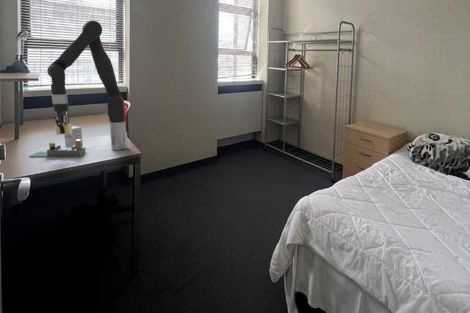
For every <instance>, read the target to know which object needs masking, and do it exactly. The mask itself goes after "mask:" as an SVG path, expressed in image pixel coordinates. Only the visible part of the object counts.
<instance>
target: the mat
mask: <svg viewBox="0 0 470 313" xmlns="http://www.w3.org/2000/svg"><path fill="white" fill-rule="evenodd" d="M29 158H49V157H48V156H47V151H36V152H35V153H33V154H31V155H30V156H29Z"/></svg>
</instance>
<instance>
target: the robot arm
mask: <svg viewBox="0 0 470 313" xmlns="http://www.w3.org/2000/svg"><path fill="white" fill-rule="evenodd" d="M81 30H82V31H81V33H80V34H79V36H78V37H77V38H76V39H75V40H74V41H73V42H72V43H71V44H69V45H68V47H66V49H65V50H64V51H63V52H61V55H59V56H58V57H57V59H55V61H53V62H52V63H50V65H49V66H48V68H47V75H48V76H49V77H50V79H51V83H50V84H51V85H50V90H51V100H52V101H51V102H52V106H53V107H52V108H53V112H56V116H54V120H55V124H56V125H57V127H60V133H61V134H60V135H64V133H65V130H64V124H70V113H69V112H68V111H69V110H70V108H69V102H68V101H69V100H68V96H67V95H68V94H67V90H66V73H65V71H66V70H67V68H69V67H71V66H72V65H73V64H74V63H75V62H76V61H77V59H78V58H79V57H80V56H81V55H82V53H83V52H84V51H85V50H86V49H87V47H88V48H89V51H90V53H91V57H92V61H93V63H94V66H95V69H96V73H97V75H98V77H99V79H100V81H101V83H102V84H103V87H104V89H105V92H106V95H107V102H106V105H107V113H108V115H107V116H108V122H109V133H110V144H111V150H113V151H122V150H121V149H125V150H127V149H128V148H127V147H129V142H128V132H127V128H126V127H127V126H126V115H125V101H124V98H123V95H122V93H121V91H120V89H119V86H118V83H117V79H116V78H117V77H116V73H115V71H114V70H115V69H114V67H113V64H112V62H111V58H110V56H109V55H108V53H107V52H106V50H105V49H104V47H103V44H102V40H101V37H100V36H101V35H102V33H103V26H102V25H101V24H100V23H99V21H96V20H89V21H87V22H85V23H84V24H83V25H82V29H81ZM126 148H127V149H126Z"/></svg>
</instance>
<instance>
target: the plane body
mask: <svg viewBox="0 0 470 313" xmlns="http://www.w3.org/2000/svg"><path fill="white" fill-rule="evenodd" d="M82 141H83V138H82V139H77V140H76V141H75V142H76V145H73V146H72V147H66V146H61V144H58V145H56V143H55V142H49V143H48V145H49V146H48V147H49V148H48V149H46V152H47V156H48V157H47V158H82V157H83V155H85V154H86V147H85V146H82Z"/></svg>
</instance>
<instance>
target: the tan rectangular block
mask: <svg viewBox="0 0 470 313" xmlns="http://www.w3.org/2000/svg"><path fill="white" fill-rule="evenodd" d="M72 126H73V125H72V124H71V123H68V124H64V130H65V133H64V134H71V133H72ZM54 127H55V134H56V135H62V134H61V133H60V127H57V124H56V125H54ZM64 134H63V135H64Z"/></svg>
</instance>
